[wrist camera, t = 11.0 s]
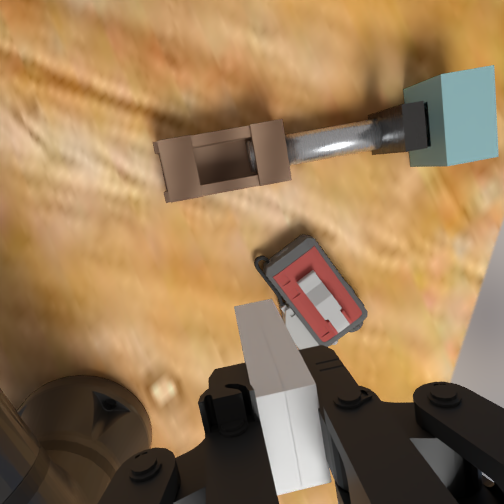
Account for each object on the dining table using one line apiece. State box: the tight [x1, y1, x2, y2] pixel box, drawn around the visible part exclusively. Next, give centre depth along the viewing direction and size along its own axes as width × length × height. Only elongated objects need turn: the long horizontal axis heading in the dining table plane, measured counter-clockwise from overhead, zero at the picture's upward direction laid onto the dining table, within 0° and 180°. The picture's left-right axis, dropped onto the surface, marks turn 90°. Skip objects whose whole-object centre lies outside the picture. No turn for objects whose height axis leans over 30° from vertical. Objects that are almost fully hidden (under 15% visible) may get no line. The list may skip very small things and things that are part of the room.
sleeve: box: [153, 119, 292, 203], centre depth 40 cm, size 12×6×5 cm, turn 100°
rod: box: [246, 101, 431, 172], centre depth 39 cm, size 20×4×8 cm, turn 100°
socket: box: [403, 65, 498, 167], centre depth 41 cm, size 5×8×7 cm, turn 10°
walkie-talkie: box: [254, 234, 367, 350], centre depth 45 cm, size 9×4×20 cm
